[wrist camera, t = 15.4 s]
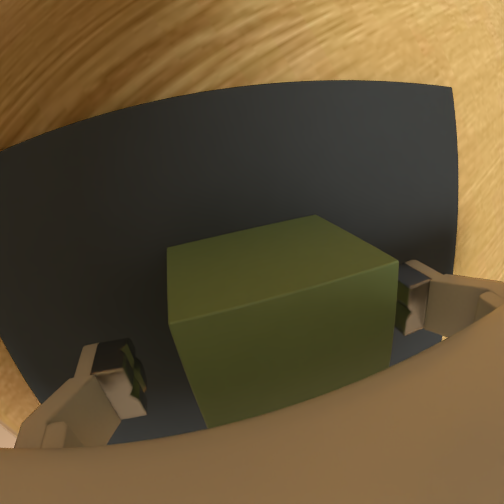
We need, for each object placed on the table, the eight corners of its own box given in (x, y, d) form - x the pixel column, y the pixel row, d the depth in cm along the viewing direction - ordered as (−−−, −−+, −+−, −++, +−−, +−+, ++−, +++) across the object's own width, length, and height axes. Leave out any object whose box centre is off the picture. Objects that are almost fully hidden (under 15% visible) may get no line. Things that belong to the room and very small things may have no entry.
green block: (201, 369, 12) (223, 464, 8) (166, 247, 10) (167, 323, 6) (323, 334, 13) (382, 408, 8) (315, 213, 11) (400, 259, 7)
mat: (83, 452, 12) (82, 458, 12) (-49, 177, 7) (-55, 178, 7) (434, 350, 16) (438, 353, 16) (445, 87, 11) (452, 87, 10)
